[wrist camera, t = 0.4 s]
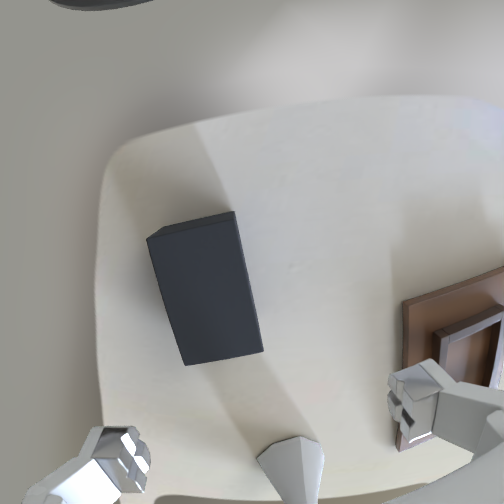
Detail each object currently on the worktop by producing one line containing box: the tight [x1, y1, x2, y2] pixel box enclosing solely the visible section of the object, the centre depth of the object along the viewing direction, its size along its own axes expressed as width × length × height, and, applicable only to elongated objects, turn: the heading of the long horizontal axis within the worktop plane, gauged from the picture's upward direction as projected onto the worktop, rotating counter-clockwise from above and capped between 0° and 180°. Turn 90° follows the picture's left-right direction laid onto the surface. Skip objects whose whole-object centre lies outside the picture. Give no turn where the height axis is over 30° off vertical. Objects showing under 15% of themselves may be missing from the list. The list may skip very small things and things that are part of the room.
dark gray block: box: [146, 211, 264, 366], centre depth 22 cm, size 9×6×5 cm, turn 11°
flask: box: [257, 436, 325, 504], centre depth 25 cm, size 7×7×10 cm
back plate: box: [396, 266, 504, 452], centre depth 27 cm, size 20×15×3 cm
